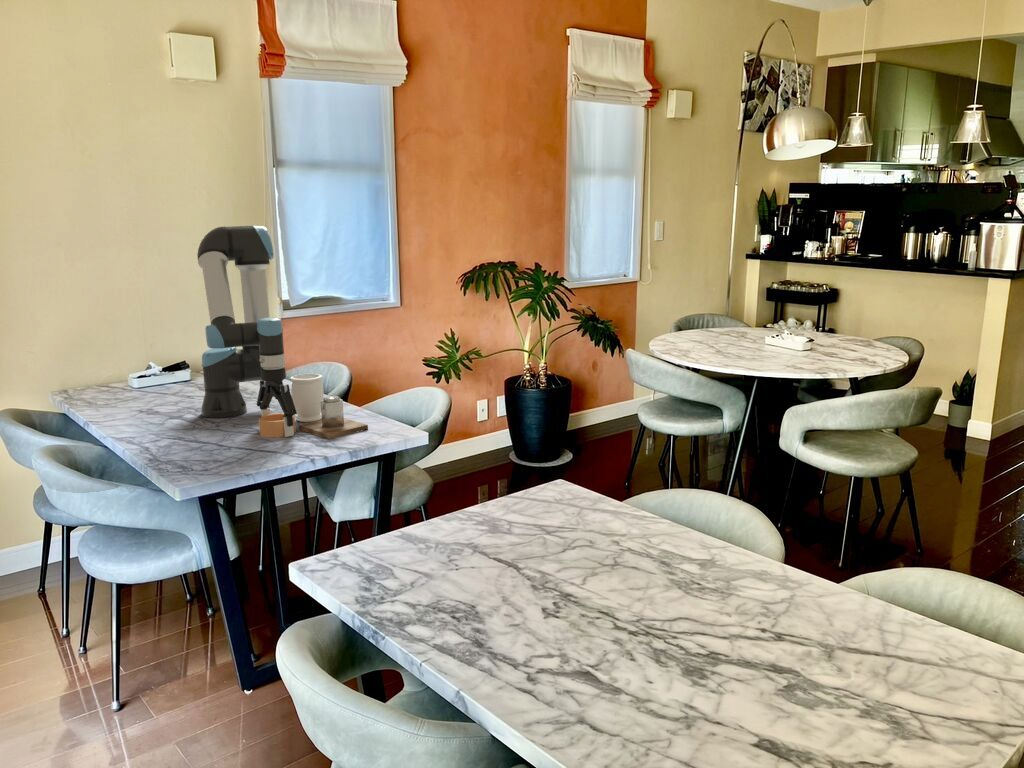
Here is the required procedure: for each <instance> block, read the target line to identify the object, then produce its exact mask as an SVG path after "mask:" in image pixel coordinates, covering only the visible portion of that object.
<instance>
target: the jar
mask: <svg viewBox="0 0 1024 768" xmlns="http://www.w3.org/2000/svg"><path fill="white" fill-rule="evenodd" d="M322 379H323V375H322V374H319V373H301V374H296V375H293V376H290V379H289V380H290V382H291V389H290V393H291V397H292V400H293V403H294V406H295V409H296V412H297V414H296V417H295V421H297V422H301V423H310V422H315V421H319V420H322V416H321V401H322V400H323V398H324V396H325V395H324V386H323V383H322Z"/></svg>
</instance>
